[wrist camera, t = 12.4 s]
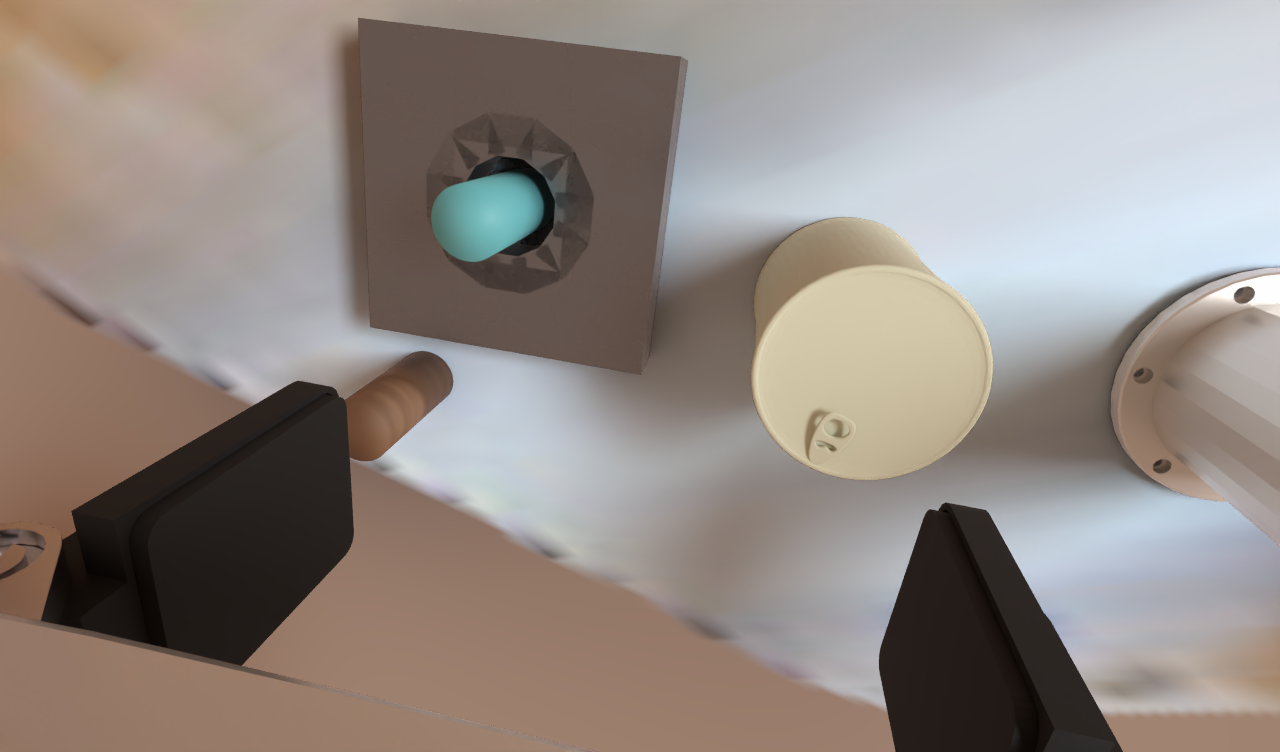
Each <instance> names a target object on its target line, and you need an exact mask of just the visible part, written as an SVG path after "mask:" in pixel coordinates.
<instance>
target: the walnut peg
mask: <svg viewBox="0 0 1280 752" xmlns="http://www.w3.org/2000/svg"><path fill="white" fill-rule="evenodd" d="M452 386H453V377H452V373H451V370H450V368H449V367H448V365H447V364H446V362H445V361H444V360H443V359H441V358H440V357H439V356H437V355H435V354H433V353H431V352H426V351H419V352H415V353H412V354H411V355H409V356H408V357H406V358H405V359H403V360H402V361H401V362H399V363H398V364H396V365H395V366H393V367H392V368H390V369H389V370H388V371H386V372H385V373H383V374H382V375H380V376H379V377H378V378H376V379H375V380H373V381H372V382H370V383H369V384H367V385H366V386H365V387H363V388H362V389H360V390H359V391H357V392H356V393H354V394H353V395H352V396H350V397H349V398H347V399H346V400H344V401H345V403H346V407H347V421H348V439H349V457H351V458H353V459H355V460H359V461H372V460H375V459H377V458H379V457H381V456H382V455H383V454H384V453H385V452H386V451H387V450H388V449H389V448H391V447H392V446H393V445H394V444H395V443H396V442H397V441H398V440H399V439H400V438H402V437H403V436H404V435H405V434H406V433H407V432H408V431H409V430H410V429H412V428H413V427H414V426H415V425H416V424H417V423H418V422H419V421H420V420H421V419H423V418H424V417H425V416H426V415H427V414H428V413H429V412H430V411H431V410H433V409H434V408H435V407H436V406H437V405H438V404H439V403H440V402H441V401H442V400H444V399H445V398H446V397H447V396H448V395H449V394H450V392H451V390H452Z"/></svg>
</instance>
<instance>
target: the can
mask: <svg viewBox="0 0 1280 752" xmlns="http://www.w3.org/2000/svg"><path fill="white" fill-rule="evenodd" d="M754 316H755V321H756V339H755V351H754V355H753V360H752V366H751V388H752V395H753V400H754V404H755V407H756V410H757V413H758V415H759V417H760V419H761V421H762V423H763V425H764V427H765V428H766V430H767V431H768V433H769V434H770V436H771V437H772V438H773V439H774V441H775V442H776V443H777V444H778V445H779V446H780V447H781V448H782V449H783V450H784V451H785V452H786V453H788V454H789V455H790V456H792V457H793V458H794V459H796V460H797V461H799V462H801V463H802V464H804V465H806V466H808V467H810V468H812V469H814V470H816V471H819V472H821V473H824V474H827V475H831V476H835V477H839V478H845V479H853V480H879V479H887V478H893V477H897V476H901V475H905V474H908V473H911V472H914V471H916V470H919V469H921V468H923V467H926V466H928V465H929V464H931V463H933V462H935V461H936V460H938V459H940V458H941V457H943V456H944V455H946V454H947V453H948V452H950V451H951V450H952V449H953V448H954V447H955V446H956V445H957V444H958V443H960V442H961V441H962V440H963V439H964V438H965V436H966V435H967V434H968V433H969V431H970V430H971V429H972V428H973V426H974V425H975V423H976V422H977V420H978V419H979V417H980V415H981V413H982V411H983V409H984V407H985V404H986V402H987V399H988V396H989V393H990V389H991V383H992V377H993V357H992V350H991V345H990V341H989V338H988V335H987V332H986V330H985V327H984V325H983V323H982V321H981V320H980V318H979V316H978V314H977V313H976V312H975V310H974V309H973V307H972V306H971V305H970V304H969V303H968V301H967V300H966V299H965V298H964V297H962V296H961V295H960V294H959V293H958V292H957V291H956V290H954V289H953V288H952V287H951V286H949V285H948V284H946V283H945V282H943V281H941V280H940V279H939V278H938V277H937V276H936V275H935V274H934V273H933V272H932V271H931V270H930V269H929V268H928V267H927V266H926V265H925V264H924V263H923V262H922V261H921V260H920V258H919V256H918V255H917V253H916V252H915V250H914V249H913V248H912V246H911V245H910V244H909V243H908V242H907V241H906V240H905V239H904V238H903V237H901V236H900V235H899V234H897V233H896V232H895V231H893V230H891V229H890V228H888V227H886V226H884V225H882V224H879V223H876V222H873V221H870V220H866V219H860V218H849V217H848V218H833V219H827V220H823V221H820V222H816V223H813V224H811V225H809V226H806V227H804V228H802V229H800V230H799V231H797V232H795V233H794V234H792V235H791V236H789V237H788V238H787V239H786V240H784V241H783V242H782V243H781V244H780V245H779V246H778V247H777V248H776V249H775V250H774V252H773V253H772V254H771V255H770V257H769V258H768V260H767V261H766V263H765V265H764V266H763V268H762V270H761V273H760V275H759V278H758V281H757V284H756V288H755V293H754Z"/></svg>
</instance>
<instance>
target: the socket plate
mask: <svg viewBox="0 0 1280 752" xmlns="http://www.w3.org/2000/svg"><path fill="white" fill-rule="evenodd" d="M358 28H359V53H360V78H361V103H362V129H363V154H364V179H365V204H366V230H367V255H368V280H369V305H370V327H373V328H379V329H384V330H390V331H396V332H402V333H407V334H413V335H419V336H424V337H430V338H436V339H441V340H447V341H453V342H458V343H464V344H470V345H475V346H481V347H487V348H493V349H498V350H504V351H510V352H515V353H521V354H527V355H532V356H538V357H544V358H549V359H555V360H561V361H566V362H572V363H578V364H584V365H589V366H595V367H601V368H606V369H612V370H618V371H623V372H629V373H635V374H640V375H641V372H642V370H643V368H644V366H645V364H646V362H647V360H648V357H649V353H650V345H651V338H652V330H653V323H654V315H655V307H656V300H657V292H658V284H659V277H660V269H661V262H662V254H663V246H664V239H665V231H666V224H667V216H668V208H669V201H670V193H671V186H672V178H673V170H674V163H675V155H676V148H677V140H678V132H679V125H680V117H681V110H682V102H683V94H684V87H685V79H686V72H687V64H688V61H687V60H686V59H684V58H682V57H678V56H670V55H662V54H654V53H645V52H637V51H629V50H620V49H612V48H604V47H596V46H587V45H579V44H571V43H562V42H554V41H546V40H538V39H529V38H521V37H513V36H504V35H496V34H488V33H479V32H471V31H463V30H455V29H446V28H438V27H430V26H421V25H413V24H405V23H397V22H388V21H380V20H372V19H363V18H358ZM506 157H512V158H519V159H523V160H525V161H526V162H527V163H528V164H530V165H531V166H532V167H533V168H535V169H536V170H537V171H538V172H540V173H541V174H542V175H544V177H545V179H546V181H547V184H548V186H549V188H550V190H551V193H552V195H553V197H554V199H555V212H554V227H553V229H552V230H551V232H550V233H549V235H548V236H547V237H546V239H545V240H544V242H543V243H541V244H539V245H537V246H533V245H527V244H520V243H514V244H512V245H510V246H508V247H507V248H505V249H503V250H501V251H499V252H498V253H496V254H494V255H492V256H490V257H489V258H487V259H485V260H482V261H477V262H468V261H463V260H460V259H457V258H456V257H454V256H452V255H451V254H449V253H448V252H447V251H446V250H445V249H444V248H443V247H442V246H441V245H440V243H439V242H438V240H437V238H436V236H435V234H434V231H433V228H432V223H431V213H432V208H433V205H434V202H435V200H436V198H437V197H438V196H439V194H440V193H441V192H442V191H444V190H445V189H446V188H448V187H450V186H453V185H456V184H460V183H463V182H467V181H471V180H475V179H479V178H482V177H486V176H488V175H489V174H490V172H491V170H492V169H493V167H494V165H495V164H496V162H497V161H499V160H501V159H504V158H506Z"/></svg>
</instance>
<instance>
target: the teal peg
mask: <svg viewBox="0 0 1280 752" xmlns="http://www.w3.org/2000/svg"><path fill="white" fill-rule="evenodd" d="M554 209H555V199H554V197H553V195H552V193H551V190H550V188H549V186H548V184H547V181H546V179H545V177H544V176H543V175H541V174H540V173H538V172H537V171H535V170H532V169H528V168H517V169H513V170H509V171H505V172H501V173H498V174H494V175H490V176H486V177H482V178H479V179H475V180H471V181H467V182H463V183H460V184H456V185H453V186H450V187H448V188H446V189H445V190H444V191H442V192H441V193H440V194H439V196H438V197H437V198H436V200H435V202H434V205H433V208H432V213H431V223H432V228H433V231H434V234H435V236H436V238H437V240H438V242H439V243H440V245H441V246H442V247H443V248H444V249H445V250H446V251H447V252H448V253H449V254H451V255H452V256H454V257H456V258H457V259H460V260H463V261H468V262H477V261H482V260H485V259H487V258H489V257H490V256H492V255H494V254H496V253H498V252H499V251H501V250H503V249H505V248H507V247H508V246H510V245H512V244H514V243H516V242H517V241H519V240H521V239H523V238H525V237H526V236H528V235H530V234H532V233H534V232H535V231H537V230H539V229H541V228H542V227H544V226H545V225H546V224H547V223H548V222H549V221H550V219H551V218H552V215H553V213H554Z"/></svg>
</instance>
